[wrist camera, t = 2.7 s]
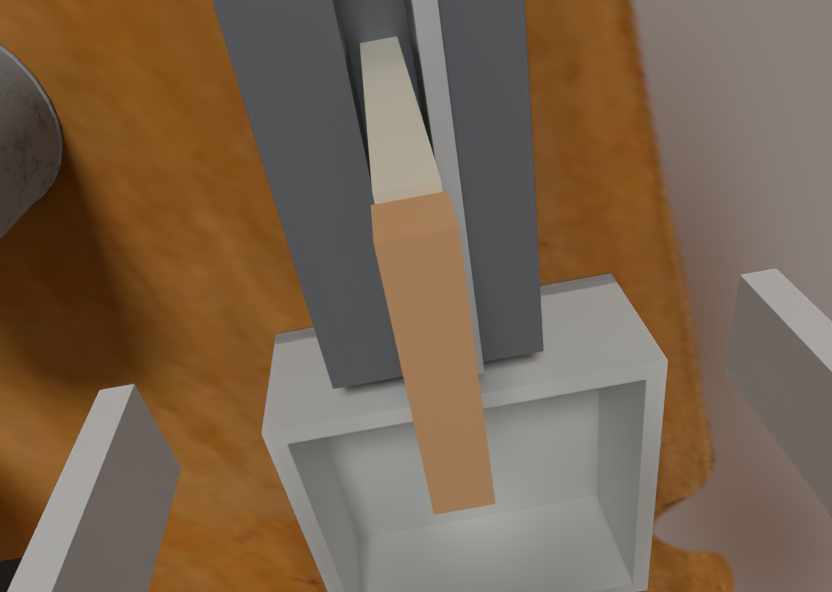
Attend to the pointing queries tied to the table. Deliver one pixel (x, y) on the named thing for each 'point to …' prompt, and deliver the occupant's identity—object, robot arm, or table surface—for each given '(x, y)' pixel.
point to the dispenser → (350, 165)
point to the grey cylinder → (25, 140)
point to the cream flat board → (424, 286)
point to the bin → (509, 458)
